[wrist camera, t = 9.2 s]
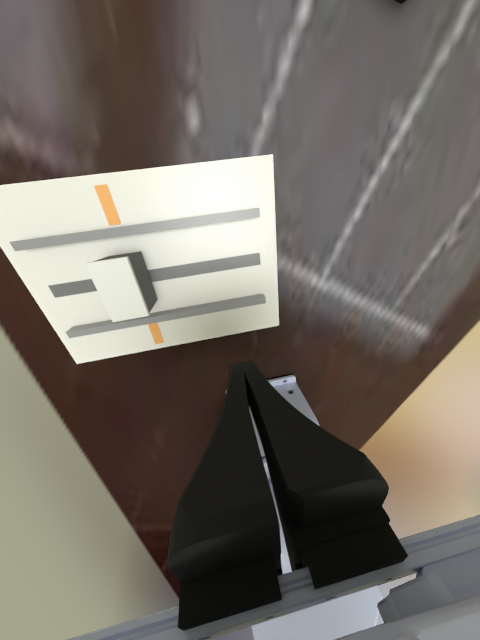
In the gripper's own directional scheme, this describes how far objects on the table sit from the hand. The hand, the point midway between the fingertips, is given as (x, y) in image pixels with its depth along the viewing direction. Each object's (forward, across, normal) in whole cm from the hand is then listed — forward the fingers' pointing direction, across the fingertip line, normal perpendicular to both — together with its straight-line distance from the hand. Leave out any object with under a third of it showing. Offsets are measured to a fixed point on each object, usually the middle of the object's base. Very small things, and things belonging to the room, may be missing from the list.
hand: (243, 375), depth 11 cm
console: (+10, +5, -5) cm, 12 cm away
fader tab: (+8, +7, -5) cm, 12 cm away
